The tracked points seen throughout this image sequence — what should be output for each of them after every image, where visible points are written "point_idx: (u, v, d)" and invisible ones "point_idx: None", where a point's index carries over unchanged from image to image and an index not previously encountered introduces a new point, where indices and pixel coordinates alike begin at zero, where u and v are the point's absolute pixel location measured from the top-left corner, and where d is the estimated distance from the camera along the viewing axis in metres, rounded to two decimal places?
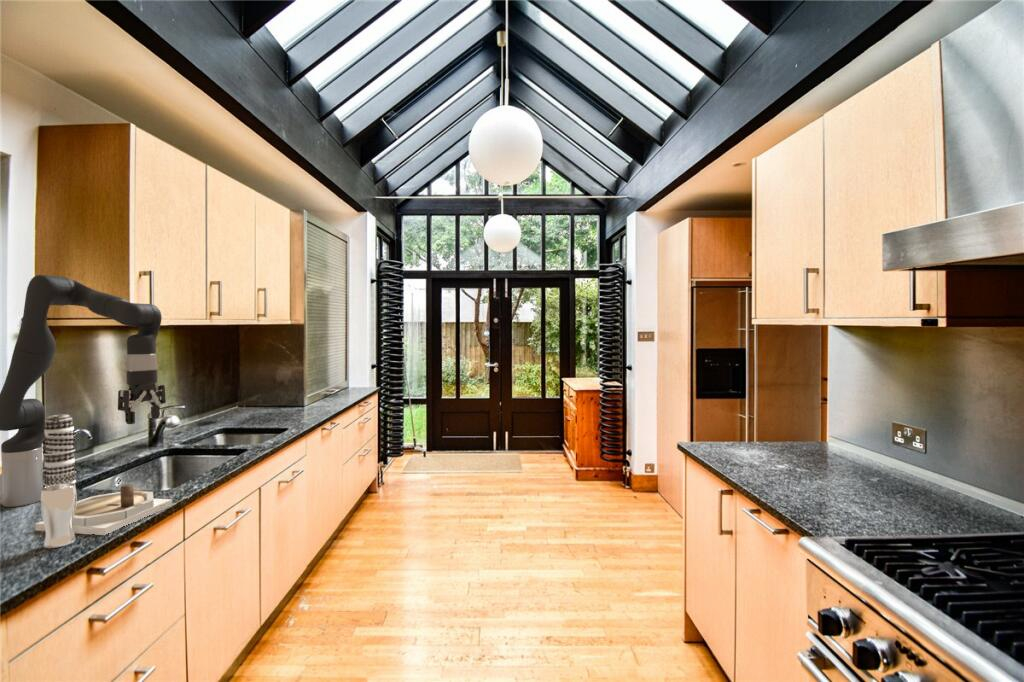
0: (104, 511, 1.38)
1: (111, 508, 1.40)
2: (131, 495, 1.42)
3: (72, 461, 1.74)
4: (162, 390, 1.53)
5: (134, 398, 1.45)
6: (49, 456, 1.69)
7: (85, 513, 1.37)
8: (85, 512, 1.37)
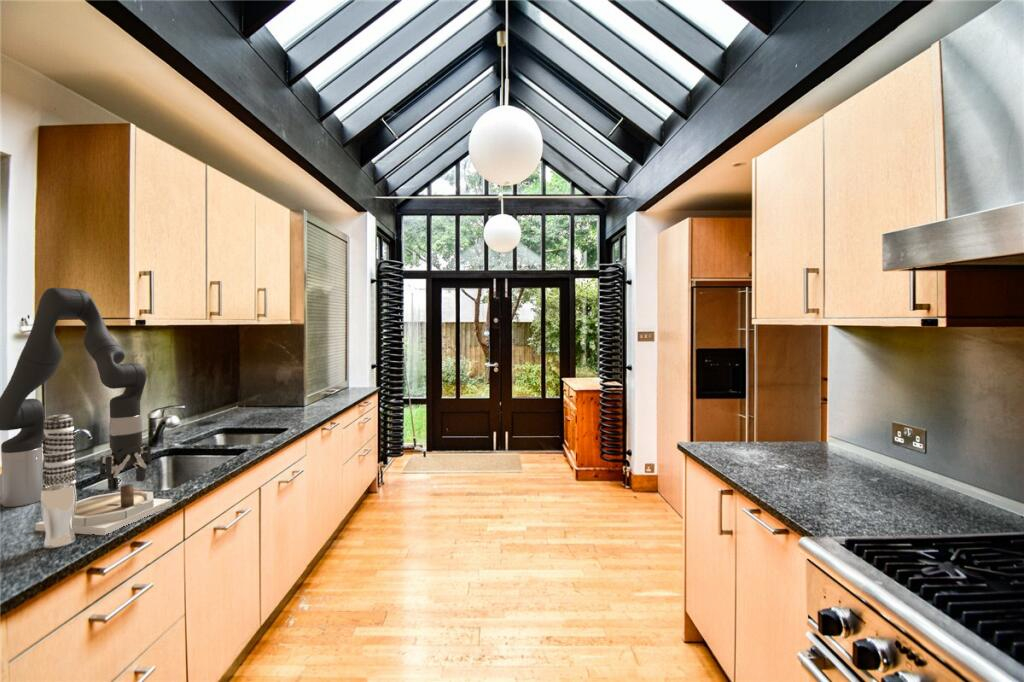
0: (104, 511, 1.38)
1: (111, 508, 1.40)
2: (131, 495, 1.42)
3: (72, 461, 1.74)
4: (148, 451, 1.48)
5: (117, 463, 1.39)
6: (49, 456, 1.69)
7: (85, 513, 1.37)
8: (85, 512, 1.37)
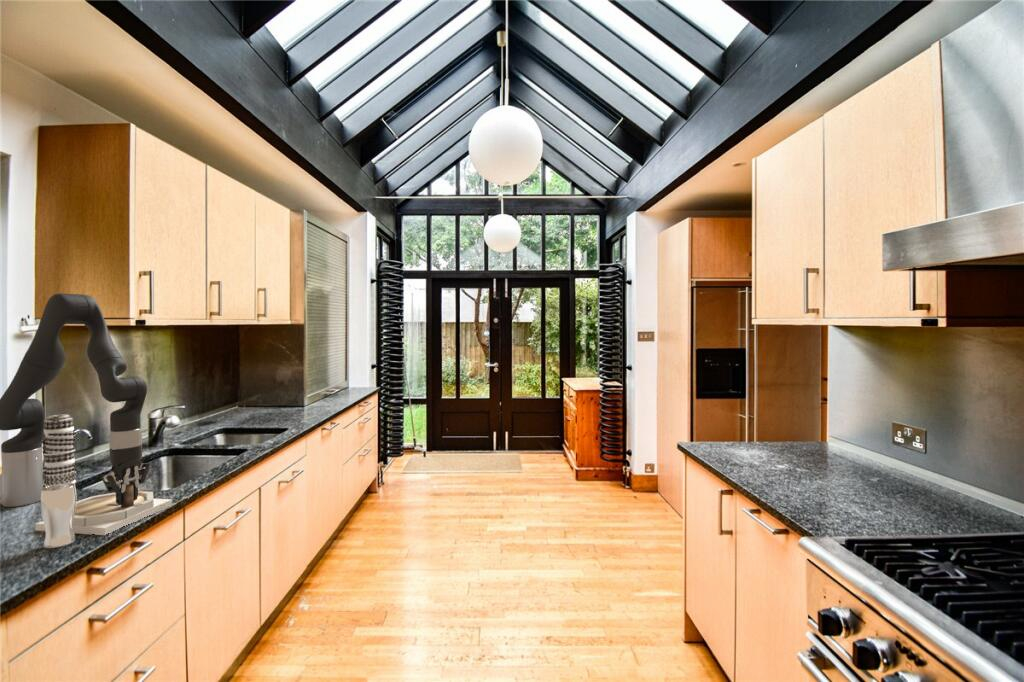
0: (104, 511, 1.38)
1: (111, 508, 1.40)
2: (131, 495, 1.42)
3: (72, 461, 1.74)
4: (145, 468, 1.47)
5: None
6: (49, 456, 1.69)
7: (85, 513, 1.37)
8: (85, 512, 1.37)
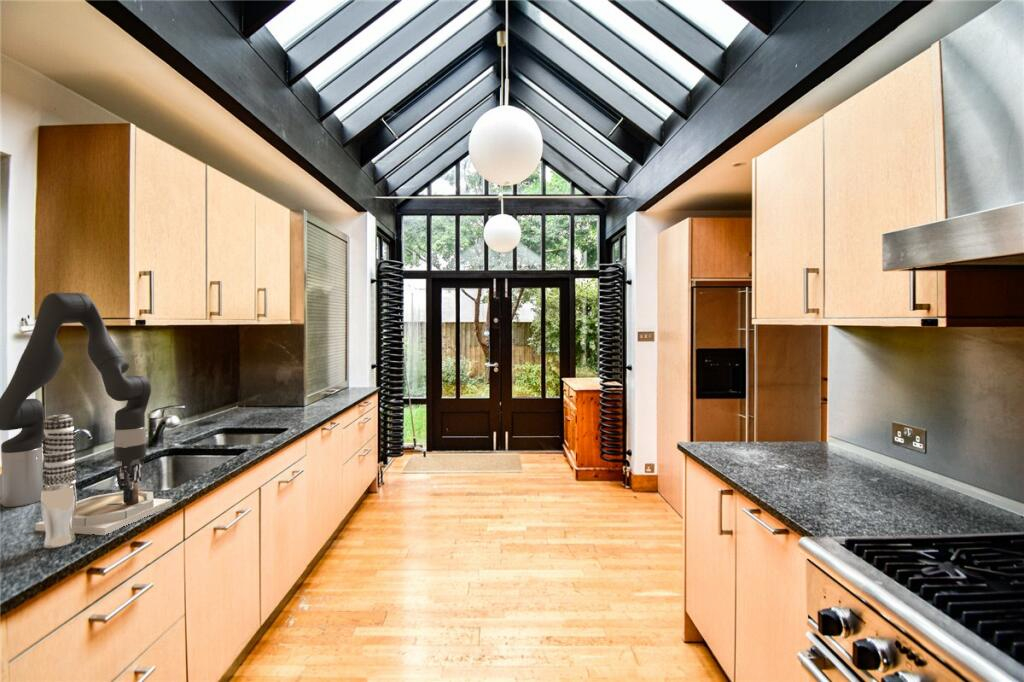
0: (112, 510, 1.39)
1: (117, 507, 1.41)
2: (137, 492, 1.44)
3: (72, 461, 1.74)
4: (141, 467, 1.49)
5: None
6: (49, 456, 1.69)
7: (91, 513, 1.37)
8: (90, 512, 1.37)
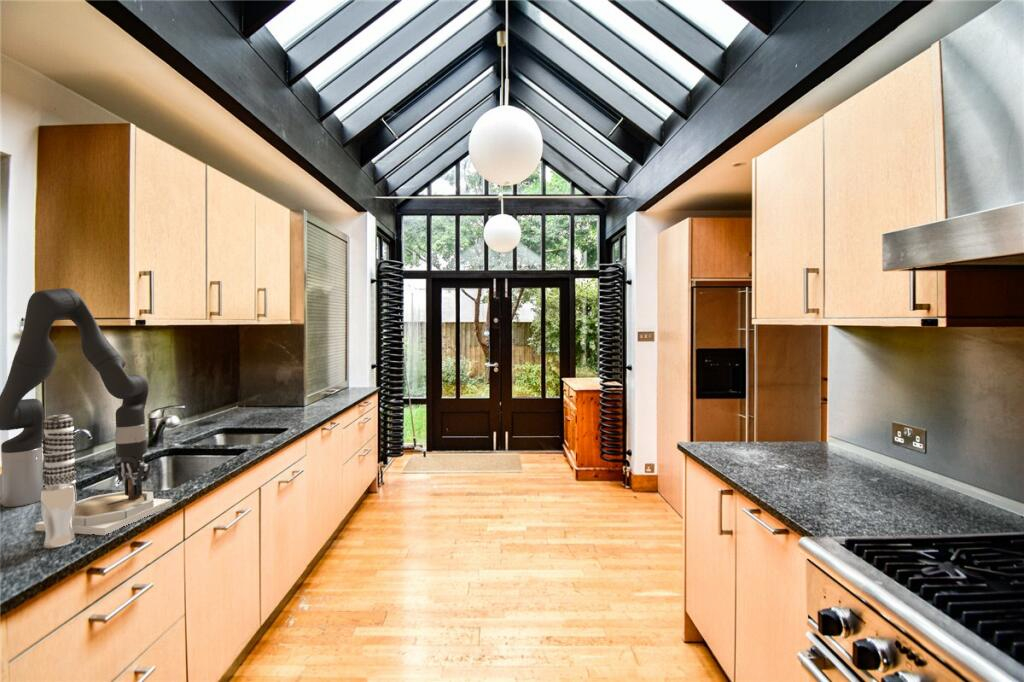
0: (130, 503, 1.44)
1: (127, 502, 1.45)
2: None
3: (72, 461, 1.74)
4: None
5: None
6: (49, 456, 1.69)
7: (115, 509, 1.39)
8: (112, 510, 1.39)
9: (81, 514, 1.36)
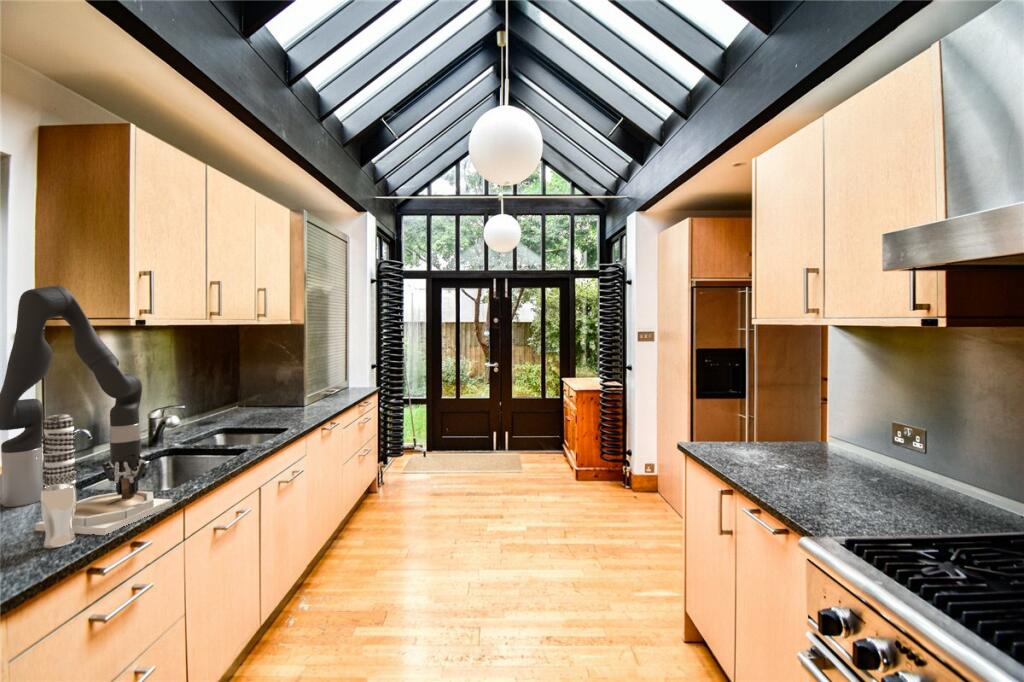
0: (134, 500, 1.47)
1: (128, 500, 1.47)
2: None
3: (72, 461, 1.74)
4: None
5: None
6: (49, 456, 1.69)
7: (127, 505, 1.42)
8: (124, 506, 1.42)
9: (95, 514, 1.36)
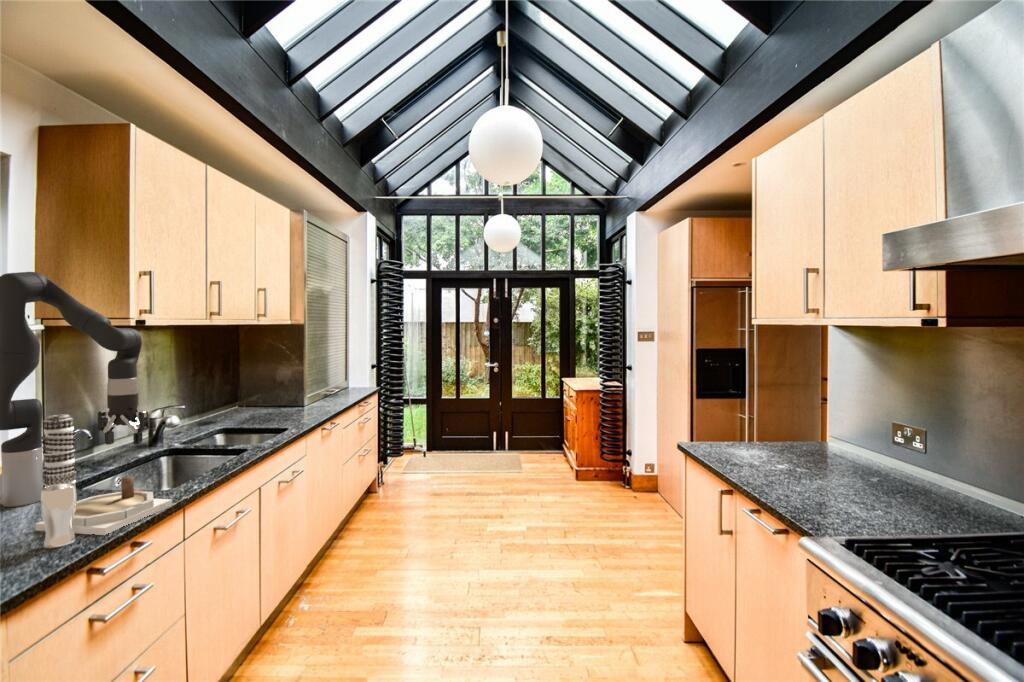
0: (134, 500, 1.47)
1: (128, 500, 1.47)
2: None
3: (72, 461, 1.74)
4: None
5: (132, 420, 1.50)
6: (49, 456, 1.69)
7: (127, 505, 1.42)
8: (124, 506, 1.42)
9: (95, 514, 1.36)
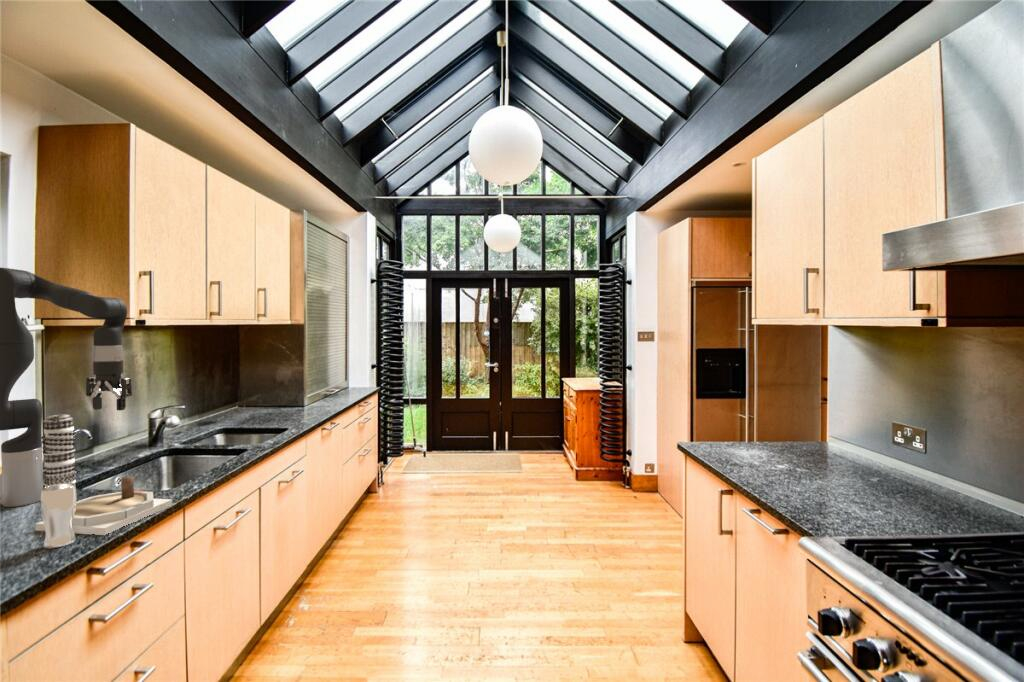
0: (134, 500, 1.47)
1: (128, 500, 1.47)
2: None
3: (72, 461, 1.74)
4: None
5: (117, 386, 1.54)
6: (49, 456, 1.69)
7: (127, 505, 1.42)
8: (124, 506, 1.42)
9: (95, 514, 1.36)
